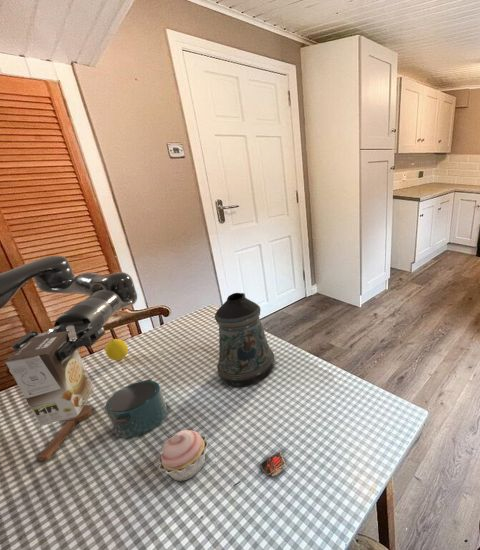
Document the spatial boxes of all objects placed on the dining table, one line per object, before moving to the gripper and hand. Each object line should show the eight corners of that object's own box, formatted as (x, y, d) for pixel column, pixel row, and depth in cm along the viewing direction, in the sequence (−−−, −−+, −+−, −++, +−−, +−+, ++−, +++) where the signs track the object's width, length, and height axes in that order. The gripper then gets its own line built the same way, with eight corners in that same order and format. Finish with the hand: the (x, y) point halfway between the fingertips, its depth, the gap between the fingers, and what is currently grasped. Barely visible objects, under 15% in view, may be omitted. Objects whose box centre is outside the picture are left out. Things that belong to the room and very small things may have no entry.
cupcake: (159, 497, 60) (145, 462, 56) (167, 457, 68) (155, 424, 64) (211, 478, 63) (201, 444, 59) (213, 442, 71) (204, 410, 67)
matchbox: (258, 466, 65) (258, 465, 65) (278, 449, 69) (278, 448, 69) (271, 480, 63) (271, 478, 62) (291, 461, 66) (291, 460, 66)
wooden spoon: (30, 463, 67) (27, 459, 66) (74, 410, 80) (72, 406, 80) (56, 458, 68) (54, 454, 67) (95, 406, 81) (94, 403, 81)
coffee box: (79, 416, 64) (47, 354, 58) (39, 426, 61) (2, 362, 55) (95, 387, 72) (69, 329, 65) (60, 395, 69) (30, 336, 63)
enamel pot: (102, 447, 70) (90, 422, 67) (130, 403, 82) (121, 380, 80) (155, 437, 72) (146, 413, 69) (175, 395, 85) (168, 373, 82)
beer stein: (230, 397, 84) (212, 319, 75) (209, 363, 98) (192, 293, 88) (284, 370, 94) (274, 298, 85) (259, 343, 108) (248, 279, 98)
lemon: (105, 364, 98) (97, 343, 95) (121, 353, 103) (113, 333, 100) (120, 366, 97) (112, 345, 94) (135, 355, 102) (127, 335, 99)
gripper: (124, 327, 77) (84, 369, 62) (57, 334, 74) (-1, 381, 59) (114, 301, 74) (70, 338, 59) (44, 307, 71) (-20, 349, 56)
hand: (35, 359), depth 59 cm, fingers closed on coffee box, 7 cm apart
